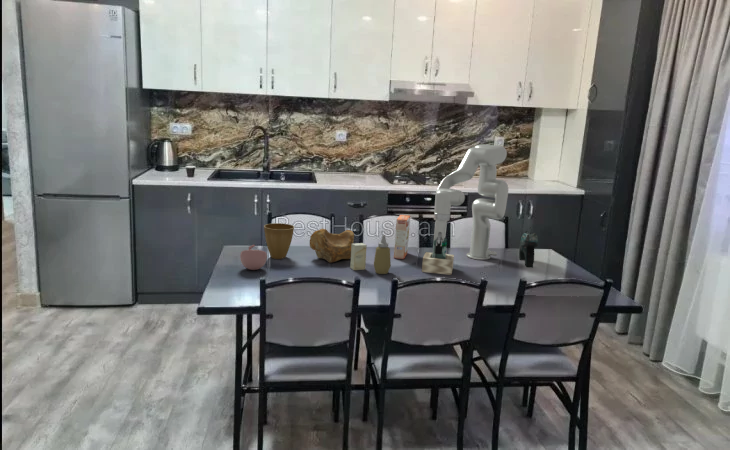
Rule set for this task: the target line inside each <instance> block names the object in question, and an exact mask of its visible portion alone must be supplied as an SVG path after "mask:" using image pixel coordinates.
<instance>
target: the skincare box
mask: <svg viewBox="0 0 730 450" xmlns="http://www.w3.org/2000/svg"><path fill="white" fill-rule="evenodd" d="M367 246H368V245H367V244H366V243H364V242H360V243H359V242H358V243H357V242H355V243H354V244H352V245H351V258H350V266H349V267H350V269H351V270H353V271H361V270H366V261H367Z"/></svg>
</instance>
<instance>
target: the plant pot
mask: <svg viewBox="0 0 730 450" xmlns="http://www.w3.org/2000/svg"><path fill="white" fill-rule="evenodd" d="M263 228H264V229H263V230H264V236H265V238H264V239H265V242H266V243H265V244H266V246H267V250H268V253H269V256H270V258H271V259H276V260H282V259H283V260H284V259H286V258H287V256H288V255H287V254H288V251H289V250H290V247H291V243H292V239H293V236H294V231H295V226H294V225H293V224H289V223H282V222H281V223H279V222H278V223H275V222H273V223H267V224H264V225H263Z"/></svg>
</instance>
